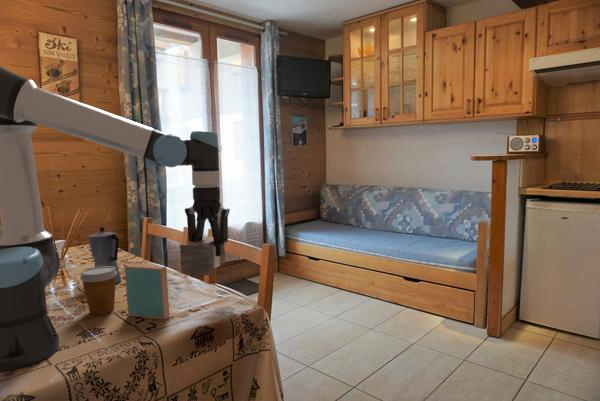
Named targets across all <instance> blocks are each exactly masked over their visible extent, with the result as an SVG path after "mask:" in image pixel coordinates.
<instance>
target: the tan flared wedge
mask: <svg viewBox="0 0 600 401" xmlns="http://www.w3.org/2000/svg"><path fill="white" fill-rule="evenodd" d="M213 244H214V240H213V235H211V236H209V237H206V238H203V239H202V240H201V241H198V242H195V243H193V242H192V243H181V244H179V251H180V273H181V274H188V275H189V274H190V275H199V276H200V275H201V276H212V275H213V270H214V269H215V268H213V259H212V246H213ZM225 246H226V245H225V243H223V244H222V255H221V256H219V259H220V266H221V265H222V266H223V265H224V264H225V263H226V254H225V252H226V251H225V250H226V249H225Z"/></svg>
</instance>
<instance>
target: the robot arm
mask: <svg viewBox="0 0 600 401" xmlns="http://www.w3.org/2000/svg"><path fill="white" fill-rule="evenodd" d="M37 125H40V126H43V127H47V128H50V129H52V130H56V131H58V132H61V133H65V134H68V135H71V136H74V137H78V138H80V139H83V140H86V141H89V142H91V143H92V142H93V143H95V144H99V145H102V146H104V147H108V148H112V149H113V150H117V151H120V152H123V153H126V154H130V155H131V156H135V157H138V158H141V159H144V160H145V161H146V165H147V166H150V167H159V168H160V167H166V168H175V167H177V166H179V167H180V166H183V167H184V166H187V167H188V166H191V179H192V180H191V182H192V186H194V187H193V188H192V199H193V204H192V206H191V207H186V208H185V209H184V213H185V216H186V221H187V234H188V236H187V237H188V238H187V239H188V241H189V242H190V243H192V244H193V243H195V242H198V241H201V240H204V232H205V231H204V230H205V225H206V221H207V220H208V223H209V226H210V230H211V234H212V235H211V236H213V240H214V244H213V246H212V259H213V268H214V269H217V268H218V267H220V266H221V265H220V259H219V256H221V255H222V244H223V243H224V244H225V243H227V242H228V240H229V239H228V238H229V237H228V236H229V235H228V233H229V215H230V212H231V211H230V210H231V209H230V208H226V207H224V206H223V207H222V204H221V202H220V201H221V194H220V193H221V191H220V190H221V188H220V187H219V185H220V164H219V163H220V156H219V155H220V154H219V149H220V148H219V142H218V141H219V139H218V134H217V133H216V132H215V131H211V130H198V131H197V130H196V131H195V130H194V131H191V132H190V136H189V137H188V138H187V137H186V138H181V137H180V136H178V135H176V134H172V133H165V132H164V131H161V130H158V129H154V128H153V127H149V126H147V125H144V124H142V123H139V122H135V121H133V120H130V119H127V118H125V117H121V116H119V115H116V114H113V113H110V112H108V111H106V110H105V111H104V110H102V109H100V108H96V107H94V106H91V105H88V104H85V103H83V102H80V101H77V100H74V99H71V98H69V97H65V96H63V95H61V94H57V93H54V92H51V91H50V90H46V89H44V88H40V87H39V86H37V85H36V83H35V81H33V80H32V79H30V78H27V77H24V76H22V75H19V74H17V73H15V72H12V71H11V70H9V69H7V68H6V67H3V66H2V65H0V223H1V230H2V236H1V238H0V372H6V371H12V370H16V369H21V368H25V367H27V366H31V365H33V364H36V363H39V362H41V361H43V360H44V359H47V358H49V357H50V356H52V355H54V354H55V352H57V351H58V350H59V348H60V337H59V335H58V334H59V333H58V332H57V331H56V328H55V326H54V324H53V323H52V321H51V319H50V317H49V314H48V309H47V297H46V288H47V287H48V285H50V284H51V283H52V282H53V281H54V279H55V278H56V276H58V275H57V273H58V271H59V268H60V256H59V253H58V251H57V250H56V249H55V248H54V235H53V234H52V233H50V232H49V231H47V230H46V229H45V223H44V218H43V217H44V216H43V209H42V208H43V207H42V203H41V201H42V200H41V195H40V190H39V183H38V182H39V181H38V176H37V168H36V161H35V154H34V147H33V142H32V141H33V140H32V134H33V133H34V132H35V131H37V129H38V126H37ZM195 213H196V214H195ZM218 214H219V215H220V216H218Z"/></svg>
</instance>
